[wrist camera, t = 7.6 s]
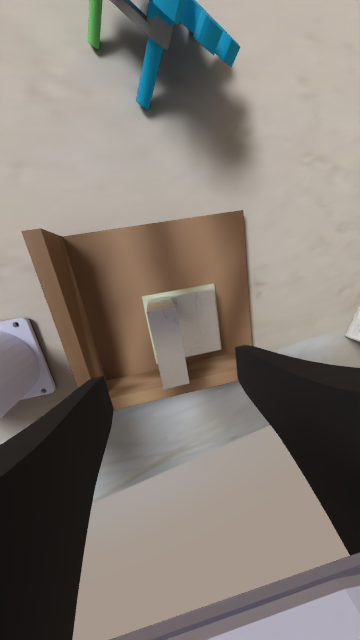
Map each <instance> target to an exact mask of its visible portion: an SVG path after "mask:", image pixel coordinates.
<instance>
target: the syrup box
mask: <svg viewBox="0 0 360 640" xmlns="http://www.w3.org/2000/svg"><path fill="white" fill-rule="evenodd" d="M345 336H346V337H348V338H350V339H353V340H355V341H358V342H360V307H359V309H358V310H357V312H356V314H355V316H354V318H353V320H352V322H351V324H350V326H349V328H348V330H347V332H346V334H345Z"/></svg>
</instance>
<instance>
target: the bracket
mask: <svg viewBox="0 0 360 640" xmlns="http://www.w3.org/2000/svg"><path fill="white" fill-rule="evenodd" d="M147 317H148V321H149V326H150V330H151V335H152V339H153V344H154V349H155V353H156V358H157V362H158V367H159V371H160V376H161V380H162V385H163V389H168V388H172V387H176V386H181V385H185V384H189V377H188V371H187V366H186V360H185V357H189V356H193V355H198V354H203V353H207V352H212V351H216V350H221V349H220V340H219V331H218V323H217V314H216V305H215V297H214V289H211V288H209V289H203V290H198V291H192V292H187V293H182V294H176V295H171V296H166V297H160V298H155V299H149V300H148V305H147Z"/></svg>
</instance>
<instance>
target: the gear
mask: <svg viewBox="0 0 360 640" xmlns="http://www.w3.org/2000/svg"><path fill="white" fill-rule="evenodd" d="M110 1H111V2H112V3H113V4H114V5H115V6H117V7H118V8H119V9H120V10H121V11H122V12H123V13H124V14H125V15H126V16H127V17H128V18H129V19H130V20H132V21H133V22H134V23H135V24H136V25H137V26H138V27H139V28H140V29H141V30H142V31H143V32H144V33H145V34H147V35H148V41H147V46H146V51H145V56H144V62H143V67H142V72H141V77H140V83H139V88H138V93H137V98H136V101H137V103H138V104H139V105H141V106H142V107H144V108H146V109H149V107H150V102H151V98H152V94H153V90H154V85H155V81H156V77H157V73H158V68H159V64H160V60H161V56H162V51H163V48H164V49H165V50H168V48H169V44H170V40H171V36H172V32H173V28H174V24H175V23H176V24H178V23H179V22H180V23H181V24H183V25H184V26H185V27H187V28H188V29H189V30H190V31H191V32H192V33H193V34H194V38H195V39H196V40H197V41H198V42H199V43H200V44H201V45H202V46H203V47H205V48H206V49H207V50H208V51H209V52H210V53H212V54H213V55H214V54H215V53H216V55H217V56H218V57H219V58H220V59H221V60H222V61H224V62H225V63H226V64H227V65H229V66H230V67H232V65H233V63H234V60H235V58H236V56H237V53H238V51H239V49H240V46H239V45H238V44H237V42H236V41H235V40H233V39H232V38H231V37H230V36H229V35H228V34H227V32H226V31H225V30H224V29H223V28H222V27H221V26H220V25H219V24H218V23H217V22H216V21H215V20H214V19H213V18H212V17H211V16H210V15H209V14H208V13H207V12H206V11H205V10H204V9H203V8H202V7H201V6H200V5H199V4H198V3H197V2H196V1H195V0H149V5H148V11H147V16H146V15H145V14H144V13H143V12H142V11H141V10H139V9H138V8H137V7H136V6H135V5H134V4H133V3H132V2H131V1H130V0H110ZM101 13H102V0H89V25H88V43H89V44H90V45H92V46H93V47H95V48H97V49H99V44H100V28H101Z"/></svg>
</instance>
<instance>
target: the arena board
mask: <svg viewBox="0 0 360 640" xmlns="http://www.w3.org/2000/svg"><path fill="white" fill-rule="evenodd" d="M63 241H64V244H65V247H66V250H67V254H68V257H69V260H70V263H71V266H72V270H73V273H74V276H75V279H76V283H77V286H78V289H79V292H80V296H81V299H82V302H83V305H84V309H85V312H86V315H87V318H88V321H89V325H90V328H91V331H92V334H93V338H94V341H95V344H96V347H97V351H98V354H99V357H100V360H101V363H102V367H103V370H104V373H105V376H106V380H107V381H108V380H112V379H117V378H121V377H126V376H130V375H135V374H139V373H144V372H148V371H153V370H158V369H159V367H158V362H157V358H156V353H155V349H154V344H153V339H152V335H151V330H150V326H149V321H148V317H147V305H148V300H149V299H155V298H160V297H166V296H171V295H176V294H182V293H187V292H192V291H198V290H203V289H209V288H211V289H214V297H215V305H216V314H217V323H218V331H219V340H220V349H221V350H216V351H212V352H207V353H203V354H198V355H193V356H189V357H185V360H186V363H189V362H194V361H198V360H203V359H208V358H212V357H217V356H221V355H226V354H230V353H235V347H237V346H242V345H249V346H252V340H251V325H250V309H249V294H248V278H247V262H246V247H245V231H244V216H243V210H241V211H234V212H227V213H220V214H213V215H207V216H200V217H193V218H186V219H180V220H173V221H166V222H159V223H152V224H146V225H139V226H132V227H125V228H118V229H112V230H105V231H98V232H91V233H84V234H78V235H71V236H64V237H63Z"/></svg>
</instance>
